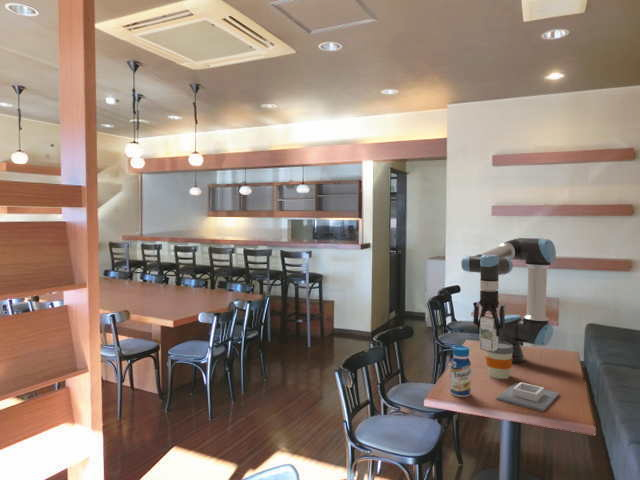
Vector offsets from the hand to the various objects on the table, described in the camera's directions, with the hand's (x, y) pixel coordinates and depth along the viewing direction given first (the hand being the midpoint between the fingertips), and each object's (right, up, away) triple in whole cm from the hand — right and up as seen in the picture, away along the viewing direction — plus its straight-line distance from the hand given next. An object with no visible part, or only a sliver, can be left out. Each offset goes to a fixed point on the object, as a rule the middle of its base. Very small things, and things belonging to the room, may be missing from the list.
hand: (488, 341), depth 198 cm
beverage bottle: (-15, -21, -6) cm, 26 cm away
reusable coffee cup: (+11, -20, +16) cm, 27 cm away
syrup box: (0, -4, 0) cm, 4 cm away
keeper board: (+13, -21, -11) cm, 27 cm away
